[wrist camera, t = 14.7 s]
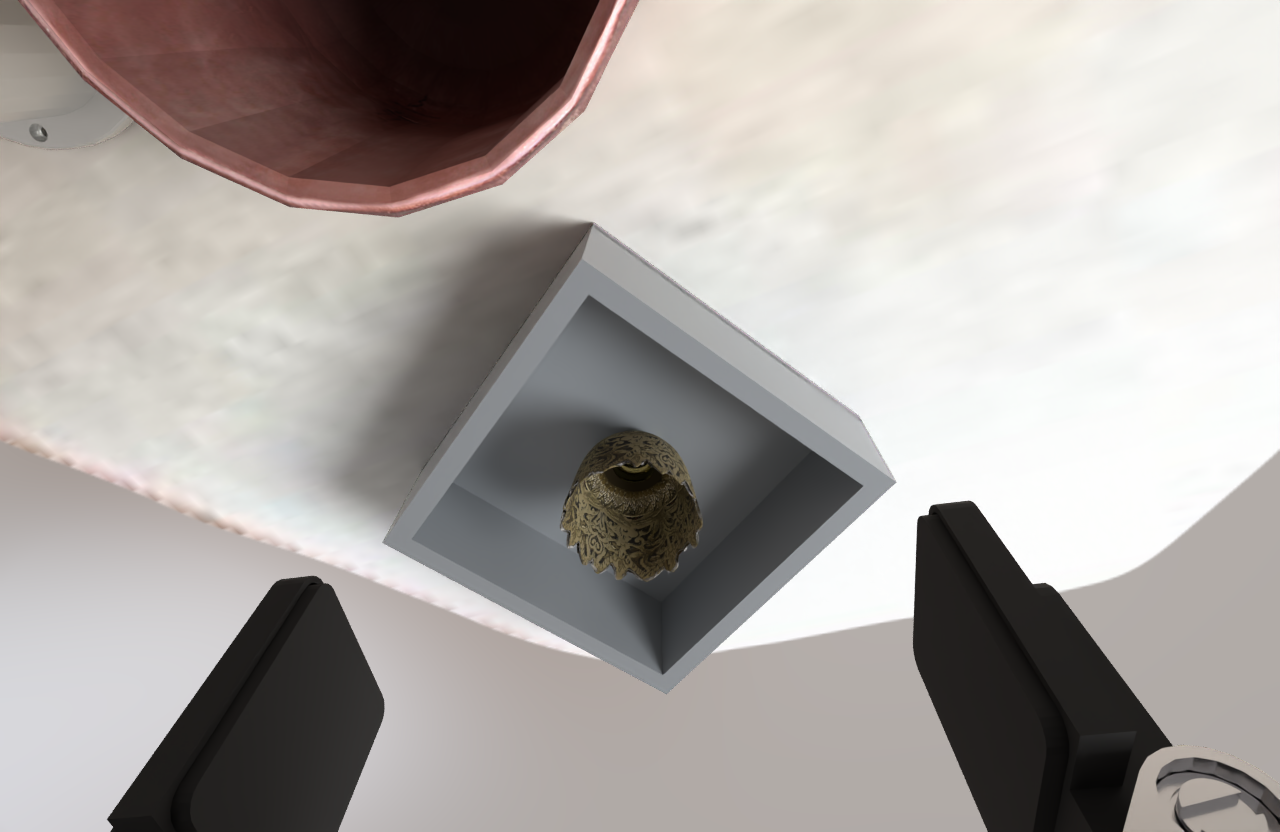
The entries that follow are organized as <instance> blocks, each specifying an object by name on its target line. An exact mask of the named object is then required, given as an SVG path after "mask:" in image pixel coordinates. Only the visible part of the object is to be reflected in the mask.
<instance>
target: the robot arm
mask: <svg viewBox="0 0 1280 832" xmlns="http://www.w3.org/2000/svg"><path fill="white" fill-rule="evenodd" d="M133 121H134V120H133V119H132V118H130V117H129V116H128V115H127V114H125V113H124V112H123V111H122V110H120V109H119V108H118V107H117V106H115V105H114V104H113V103H112V102H110V101H109V100H108V99H107V98H105V97H104V96H103V95H102V94H100V93H99V92H98V91H97V90H95V89H94V88H93V87H92V86H90V85H89V84H88V83H87V82H85V81H84V80H83V79H82V78H81V77H80V75H79V74H78V73H77V72H76V70H75V69H74V68H73V67H72V66H71V64H70V63H69V62H68V61H67V60H66V58H65V57H64V56H63V55H62V54H61V52H60V51H59V50H58V49H57V47H56V46H55V45H54V44H53V43H52V41H51V40H50V39H49V38H48V37H47V35H46V34H45V33H44V32H43V30H42V29H41V28H40V27H39V26H38V24H37V23H36V22H35V21H34V20H33V18H32V17H31V16H30V15H29V14H28V12H27V11H26V10H25V9H24V7H23V6H22V5H21V4H20V3H19V1H18V0H0V137H1V138H4V139H7V140H10V141H13V142H16V143H19V144H22V145H25V146H29V147H36V148H42V149H48V150H62V149H76V148H82V147H87V146H92V145H96V144H99V143H101V142H104V141H106V140H109V139H111V138H114V137H115V136H116V135H118V134H119V133H120V132H122V131H123V130H124V129H126V128H127V127H128V126H130V125H131V123H132V122H133ZM913 649H914V656H915V661H916V664H917V667H918V670H919V672H920V675H921V677H922V679H923V682H924V683H925V686H926V689H927V691H928V693H929V696H930V698H931V700H932V703H933V705H934V707H935V709H936V712H937V714H938V716H939V719H940V721H941V724H942V726H943V728H944V731H945V733H946V735H947V738H948V740H949V742H950V745H951V747H952V749H953V751H954V754H955V756H956V758H957V761H958V763H959V766H960V768H961V770H962V772H963V775H964V777H965V779H966V782H967V784H968V786H969V789H970V791H971V793H972V796H973V798H974V800H975V803H976V805H977V807H978V810H979V812H980V814H981V817H982V819H983V821H984V824H985V826H986V828H987V831H988V832H1280V783H1278V782H1277V781H1275V780H1274V779H1273V778H1271V777H1270V776H1268V775H1267V774H1266V773H1264V772H1263V771H1261V770H1260V769H1259V768H1257V767H1255V766H1253V765H1251V764H1248V763H1247V762H1245V761H1243V760H1241V759H1239V758H1236V757H1235V756H1233V755H1230V754H1226V753H1223V752H1220V751H1216V750H1213V749H1210V748H1207V747H1197V746H1188V745H1178V746H1172V744H1171V743H1170V742H1169V740H1168V739H1167V738H1166V736H1165V735H1164V734H1163V732H1162V731H1161V730H1160V728H1159V727H1158V726H1157V724H1156V723H1155V721H1154V720H1153V719H1152V717H1151V716H1150V715H1149V713H1148V712H1147V711H1146V709H1145V708H1144V707H1143V705H1142V704H1141V703H1140V701H1139V700H1138V699H1137V698H1136V696H1135V695H1134V693H1133V692H1132V691H1131V689H1130V688H1129V687H1128V685H1127V684H1126V683H1125V681H1124V680H1123V679H1122V677H1121V676H1120V675H1119V673H1118V672H1117V671H1116V669H1115V668H1114V667H1113V665H1112V664H1111V663H1110V661H1109V660H1108V659H1107V657H1106V656H1105V655H1104V653H1103V652H1102V651H1101V649H1100V648H1099V647H1098V645H1097V644H1096V643H1095V641H1094V640H1093V639H1092V637H1091V636H1090V634H1089V633H1088V632H1087V631H1086V629H1085V628H1084V626H1083V625H1082V624H1081V623H1080V621H1079V620H1078V619H1077V617H1076V616H1075V614H1074V613H1073V612H1072V610H1071V609H1070V608H1069V606H1068V605H1067V604H1066V602H1065V601H1064V600H1063V598H1062V597H1061V596H1060V594H1059V593H1058V592H1057V591H1056V590H1055V589H1054V588H1053V587H1052V586H1050V585H1048V584H1046V583H1040V584H1032V583H1031V582H1030V580H1029V579H1028V577H1027V576H1026V575H1025V573H1024V572H1023V570H1022V569H1021V568H1020V566H1019V565H1018V563H1017V562H1016V561H1015V559H1014V558H1013V556H1012V555H1011V554H1010V552H1009V551H1008V549H1007V548H1006V547H1005V545H1004V544H1003V542H1002V541H1001V539H1000V538H999V537H998V535H997V534H996V532H995V531H994V530H993V528H992V527H991V525H990V524H989V523H988V521H987V520H986V518H985V517H984V516H983V514H982V513H981V511H980V510H979V509H978V507H977V506H976V505H975V504H974V503H973V502H972V501H962V502H953V503H945V504H936V505H932V506H931V507H930V509H929V515H925V516H920V517H919V518H918V522H917V544H916V572H915V601H914V631H913ZM383 716H384V699H383V696H382V693H381V691H380V689H379V687H378V685H377V682H376V680H375V678H374V676H373V674H372V672H371V669H370V667H369V665H368V663H367V661H366V659H365V656H364V655H363V652H362V650H361V648H360V646H359V643H358V642H357V639H356V637H355V635H354V633H353V630H352V629H351V626H350V624H349V622H348V620H347V617H346V615H345V613H344V611H343V609H342V607H341V605H340V602H339V600H338V598H337V596H336V594H335V591H334V589H333V588H332V586H331V585H329V584H324V583H323V582H322V580H321V579H319V578H318V577H317V576H307V577H298V578H289V579H281V580H279V581H277V582H276V583H275V584H274V585H273V586H272V587H271V589H270V590H269V591H268V593H267V594H266V596H265V597H264V598H263V600H262V601H261V603H260V604H259V606H258V607H257V608H256V610H255V611H254V613H253V614H252V615H251V617H250V618H249V620H248V621H247V623H246V624H245V625H244V627H243V628H242V629H241V631H240V632H239V634H238V635H237V637H236V638H235V640H234V641H233V642H232V644H231V645H230V646H229V648H228V649H227V651H226V652H225V653H224V655H223V656H222V658H221V659H220V660H219V662H218V663H217V665H216V666H215V668H214V669H213V671H212V672H211V673H210V675H209V676H208V677H207V679H206V680H205V682H204V683H203V685H202V686H201V687H200V689H199V690H198V692H197V693H196V694H195V696H194V698H193V699H192V700H191V702H190V703H189V704H188V706H187V707H186V708H185V710H184V711H183V713H182V714H181V716H180V717H179V718H178V720H177V721H176V723H175V724H174V725H173V727H172V728H171V730H170V731H169V733H168V734H167V735H166V737H165V738H164V740H163V741H162V742H161V744H160V745H159V747H158V748H157V749H156V751H155V752H154V754H153V755H152V757H151V758H150V759H149V761H148V762H147V764H146V765H145V766H144V768H143V769H142V771H141V772H140V774H139V775H138V776H137V778H136V779H135V781H134V782H133V783H132V785H131V786H130V788H129V789H128V790H127V792H126V793H125V795H124V796H123V797H122V799H121V800H120V802H119V803H118V805H117V806H116V807H115V809H114V810H113V812H112V813H111V814H110V816H109V817H108V819H107V820H108V821H109V822H110V824H111V825H112V826H113V829H112V830H111V832H338V830H339V827H340V825H341V822H342V819H343V817H344V815H345V812H346V810H347V807H348V805H349V802H350V800H351V797H352V795H353V792H354V790H355V787H356V785H357V782H358V780H359V777H360V775H361V772H362V769H363V767H364V765H365V762H366V760H367V757H368V755H369V752H370V750H371V747H372V745H373V742H374V740H375V737H376V735H377V732H378V730H379V728H380V725H381V722H382V719H383Z"/></svg>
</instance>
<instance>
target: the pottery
mask: <svg viewBox="0 0 1280 832" xmlns="http://www.w3.org/2000/svg"><path fill="white" fill-rule="evenodd" d="M18 1H19V3H20V4H21V5H22V6H23V7H24V9H25V10H26V11H27V12H28V14H29V15H30V16H31V17H32V18H33V20H34V21H35V22H36V23H37V24H38V26H39V27H40V28H41V29H42V30H43V32H44V33H45V34H46V35H47V37H48V38H49V39H50V40H51V41H52V43H53V44H54V45H55V46H56V47H57V49H58V50H59V51H60V52H61V54H62V55H63V56H64V57H65V58H66V60H67V61H68V62H69V63H70V64H71V66H72V67H73V68H74V69H75V70H76V72H77V73H78V74H79V75H80V77H81V78H82V79H83V80H84V81H85V82H87V83H88V84H89V85H90V86H92V87H93V88H94V89H95V90H97V91H98V92H99V93H100V94H102V95H103V96H104V97H105V98H107V99H108V100H109V101H110V102H112V103H113V104H114V105H115V106H117V107H118V108H119V109H120V110H122V111H123V112H124V113H125V114H127V115H128V116H129V117H130V118H132V119H133V120H134V121H135V122H137V123H138V124H139V125H140V126H142V127H143V128H144V129H145V130H147V131H148V132H149V133H150V134H152V135H153V136H154V137H155V138H157V139H158V140H159V141H160V142H162V143H163V144H164V145H165V146H166V147H168V148H169V149H170V150H171V151H173V152H174V153H175V154H176V155H178V156H179V157H180V158H182V159H184V160H186V161H189V162H191V163H193V164H195V165H197V166H200V167H202V168H204V169H206V170H209V171H211V172H213V173H215V174H217V175H220V176H222V177H224V178H226V179H229V180H231V181H233V182H235V183H237V184H240V185H242V186H244V187H246V188H249V189H251V190H253V191H255V192H257V193H260V194H262V195H264V196H266V197H269V198H271V199H273V200H275V201H278V202H280V203H282V204H284V205H286V206H289V207H295V208H306V209H316V210H327V211H337V212H348V213H358V214H369V215H379V216H390V217H401V216H404V215H408V214H411V213H414V212H417V211H420V210H423V209H426V208H430V207H433V206H436V205H439V204H442V203H445V202H448V201H451V200H455V199H458V198H461V197H464V196H467V195H470V194H473V193H477V192H480V191H483V190H486V189H489V188H492V187H495V186H498V185H502V184H503V183H504V182H506V181H507V180H508V179H509V178H510V177H511V176H512V175H513V174H514V173H516V172H517V171H518V170H519V169H520V168H521V167H522V166H523V165H525V164H526V163H527V162H528V161H529V160H530V159H531V158H532V157H534V156H535V155H536V154H537V153H538V152H539V151H540V150H541V149H542V148H544V147H545V146H546V145H547V144H548V143H549V142H550V141H551V140H553V139H554V138H555V137H556V136H557V135H558V134H559V133H560V132H561V131H563V130H564V129H565V128H566V127H567V126H568V125H569V124H570V123H572V122H573V121H574V120H575V119H576V118H577V117H578V116H579V115H581V114H582V113H583V112H584V111H585V109H586V107H587V105H588V103H589V101H590V99H591V97H592V95H593V93H594V91H595V88H596V86H597V84H598V82H599V80H600V78H601V76H602V74H603V72H604V70H605V68H606V66H607V64H608V62H609V60H610V58H611V55H612V54H613V52H614V50H615V48H616V46H617V44H618V42H619V40H620V38H621V36H622V34H623V32H624V30H625V28H626V26H627V24H628V22H629V20H630V18H631V16H632V14H633V12H634V10H635V8H636V6H637V4H638V2H639V0H18Z"/></svg>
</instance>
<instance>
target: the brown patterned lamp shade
mask: <svg viewBox="0 0 1280 832" xmlns="http://www.w3.org/2000/svg"><path fill="white" fill-rule="evenodd" d="M702 525H703V520H702V515H701V511H700V507H699V505H698V502H697V498H696V495H695V491H694V488H693V485H692V482H691V479H690V476H689V473H688V470H687V468H686V466H685V464H684V462H683V460H682V458H681V457H680V455H679V454H678V452H677V451H676V450H675V449H674V448H673V447H672V446H671V445H670V444H669V443H667V442H666V441H665V440H663V439H662V438H660V437H658V436H656V435H654V434H651V433H647V432H645V431H642V430H634V429H633V430H626V431H623V432H619V433H615V434H613V435H610V436H608V437H606V438H604V439H603V440H601V441H600V442H598V443H597V444H596V445H595V446H594V447H593V448H592V449H591V450H590V451H589V452H588V454H587V455H586V456H585V458H584V460H583V461H582V463H581V465H580V467H579V469H578V471H577V473H576V476H575V478H574V481H573V483H572V486H571V488H570V491H569V494H568V496H567V497H566V499H565V502H564V505H563V512H562V516H561V520H560V530H561V531H563V532H566V533H567V539H566V542H567V543H566V545H567V548H568V549H570V548H573V547H574V546H575V545H576V544H577V553H578V554H579V557H580V560H581V563H582V564H583V565H587V564H588V563H589V564H591V567H592V568H593V570H594V572H595V573H597V574H601V573H603V572H604V571H606V570H607V569H608V568H609V566H612V569H613V571H614V575H615V579H616V580H621V579H623V578H624V577H625V576H626V575H627V572H628V573H631V574H634V575H635V577H636V578H638V579H640V580H642V581H645V582H648V581H650V580H652V579H654V578H655V577H656V576H657V575H659V574H660V573H661V572H662V571H663V570H664V569H665V570H666V571H667V572H669V573H671V572H674V571H675V570H676V569H677V568H678V566H679V563H678V561H679V555H680V554H681V553H682V552H683V551H686V550H687V548H688V546H689V545H690V544H691V546H692V548H695V547H696V546H697V545H698V542H699V531H701V529H702Z"/></svg>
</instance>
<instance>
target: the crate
mask: <svg viewBox="0 0 1280 832" xmlns="http://www.w3.org/2000/svg"><path fill="white" fill-rule="evenodd" d="M633 429H634V430H642V431H645V432H647V433H651V434H654V435H656V436H658V437H660V438H662V439H663V440H665V441H666V442H667V443H669V444H670V445H671V446H672V447H673V448H674V449H675V450H676V451H677V452H678V454H679V455H680V457H681V458H682V460H683V462H684V464H685V466H686V468H687V470H688V473H689V476H690V479H691V482H692V485H693V488H694V491H695V495H696V498H697V502H698V505H699V507H700V511H701V515H702V520H703V525H702V529H701V531H699V542H698V545H697V546H696V547H695V548H692V546H691V544H690V545H689V546H688V548H687V550H686V551H683V552H682V553H681V554H680V555H679V561H678V563H679V566H678V568H677V569H676V570H675V571H674V572H671V573H669V572H667V571H666V570H665V569H664V570H663V571H662V572H661V573H660V574H659V575H657V576H656V577H655V578H654V579H652V580H650V581H648V582H645V581H642V580H640V579H638V578H636V577H635V575H634V574H631V573H628V572H627V575H626V576H625V577H624V578H623V579H621V580H616V579H615V575H614V571H613V569H612V566H609V568H608V569H607V570H606V571H604V572H603V573H601V574H597V573H595V572H594V570H593V568H592V567H591V564H589V563H588V564H587V565H583V564H582V563H581V560H580V557H579V554H578V553H577V544H576V545H575V546H574V547H573V548H570V549H568V548H567V545H566V543H567V542H566V539H567V533H566V532H563V531H561V530H560V520H561V516H562V512H563V505H564V502H565V499H566V497H567V496H568V494H569V491H570V488H571V486H572V483H573V481H574V478H575V476H576V473H577V471H578V469H579V467H580V465H581V463H582V461H583V460H584V458H585V456H586V455H587V454H588V452H589V451H590V450H591V449H592V448H593V447H594V446H595V445H596V444H597V443H598V442H600V441H601V440H603V439H604V438H606V437H608V436H610V435H613V434H615V433H619V432H623V431H626V430H633ZM895 483H896V481H895V479H894V477H893V475H892V473H891V472H890V470H889V468H888V466H887V465H886V463H885V461H884V459H883V458H882V456H881V454H880V452H879V450H878V449H877V447H876V445H875V443H874V442H873V440H872V438H871V436H870V434H869V433H868V431H867V429H866V427H865V426H864V424H863V422H862V420H861V419H860V417H859V416H858V415H857V414H856V413H854V412H853V411H852V410H850V409H849V408H847V407H846V406H845V405H843V404H842V403H841V402H839V401H838V400H836V399H835V398H834V397H832V396H831V395H830V394H828V393H827V392H826V391H824V390H823V389H821V388H820V387H819V386H817V385H816V384H815V383H813V382H812V381H810V380H809V379H808V378H806V377H805V376H804V375H802V374H801V373H800V372H798V371H797V370H795V369H794V368H793V367H791V366H790V365H789V364H787V363H786V362H784V361H783V360H782V359H780V358H779V357H778V356H776V355H775V354H774V353H772V352H771V351H769V350H768V349H767V348H765V347H764V346H763V345H761V344H760V343H758V342H757V341H756V340H754V339H753V338H752V337H750V336H749V335H748V334H746V333H745V332H743V331H742V330H741V329H739V328H738V327H737V326H735V325H734V324H732V323H731V322H730V321H728V320H727V319H726V318H724V317H723V316H722V315H720V314H719V313H717V312H716V311H715V310H713V309H712V308H711V307H709V306H708V305H706V304H705V303H704V302H702V301H701V300H700V299H698V298H697V297H696V296H694V295H693V294H691V293H690V292H689V291H687V290H686V289H685V288H683V287H682V286H680V285H679V284H678V283H676V282H675V281H674V280H672V279H671V278H670V277H668V276H667V275H665V274H664V273H663V272H661V271H660V270H659V269H657V268H656V267H654V266H653V265H652V264H650V263H649V262H648V261H646V260H645V259H644V258H642V257H641V256H639V255H638V254H637V253H635V252H634V251H633V250H631V249H630V248H628V247H627V246H626V245H624V244H623V243H622V242H620V241H619V240H618V239H616V238H615V237H613V236H612V235H611V234H609V233H608V232H607V231H605V230H604V229H602V228H601V227H600V226H598V225H597V224H596V223H593V224H592V226H591V227H590V229H589V230H588V232H587V233H586V235H585V236H584V237H583V239H582V240H581V242H580V243H579V245H578V246H577V248H576V249H575V250H574V252H573V253H572V255H571V256H570V258H569V259H568V261H567V262H566V263H565V265H564V266H563V268H562V269H561V271H560V272H559V274H558V275H557V276H556V278H555V279H554V281H553V282H552V284H551V285H550V286H549V288H548V289H547V291H546V292H545V294H544V295H543V297H542V298H541V299H540V301H539V302H538V304H537V305H536V307H535V308H534V310H533V311H532V312H531V314H530V315H529V317H528V318H527V320H526V321H525V323H524V324H523V325H522V327H521V328H520V330H519V331H518V333H517V334H516V336H515V337H514V338H513V340H512V341H511V343H510V344H509V346H508V347H507V349H506V350H505V351H504V353H503V354H502V356H501V357H500V359H499V360H498V362H497V363H496V364H495V366H494V367H493V369H492V370H491V372H490V373H489V375H488V376H487V377H486V379H485V380H484V382H483V383H482V385H481V386H480V387H479V389H478V390H477V392H476V393H475V395H474V396H473V398H472V399H471V400H470V402H469V403H468V405H467V406H466V408H465V409H464V411H463V412H462V413H461V415H460V416H459V418H458V419H457V421H456V422H455V424H454V425H453V426H452V428H451V429H450V431H449V432H448V434H447V435H446V437H445V438H444V439H443V441H442V442H441V444H440V445H439V447H438V448H437V450H436V451H435V452H434V454H433V455H432V457H431V458H430V460H429V461H428V463H427V464H426V465H425V467H424V468H423V470H422V471H421V473H420V475H419V477H418V478H417V480H416V482H415V484H414V486H413V488H412V489H411V491H410V493H409V495H408V497H407V499H406V500H405V502H404V504H403V506H402V508H401V510H400V511H399V513H398V515H397V517H396V519H395V520H394V522H393V524H392V526H391V528H390V530H389V531H388V533H387V535H386V537H385V539H384V541H383V542H382V543H384V544H386V545H388V546H390V547H391V548H393V549H395V550H397V551H399V552H401V553H403V554H405V555H406V556H408V557H410V558H412V559H414V560H416V561H418V562H420V563H421V564H423V565H425V566H427V567H429V568H431V569H433V570H435V571H436V572H438V573H440V574H442V575H444V576H446V577H448V578H450V579H451V580H453V581H455V582H457V583H459V584H461V585H463V586H465V587H466V588H468V589H470V590H472V591H474V592H476V593H478V594H480V595H481V596H483V597H485V598H487V599H489V600H491V601H493V602H495V603H496V604H498V605H500V606H502V607H504V608H506V609H508V610H510V611H511V612H513V613H515V614H517V615H519V616H521V617H523V618H525V619H526V620H528V621H530V622H532V623H534V624H536V625H538V626H540V627H541V628H543V629H545V630H547V631H549V632H551V633H553V634H555V635H556V636H558V637H560V638H562V639H564V640H566V641H568V642H570V643H571V644H573V645H575V646H577V647H579V648H581V649H583V650H585V651H586V652H588V653H590V654H592V655H594V656H596V657H598V658H600V659H601V660H603V661H605V662H607V663H609V664H611V665H613V666H615V667H617V668H618V669H620V670H622V671H624V672H626V673H628V674H630V675H632V676H633V677H635V678H637V679H639V680H641V681H643V682H645V683H647V684H649V685H650V686H652V687H654V688H656V689H658V690H660V691H662V692H663V693H665V694H667V693H668V692H669V691H670V690H671V689H673V688H674V687H675V686H676V685H677V684H678V683H679V682H680V681H681V680H682V679H683V678H685V677H686V676H687V675H688V674H689V673H690V672H691V671H692V670H693V669H694V668H695V667H696V666H697V665H699V664H700V663H701V662H702V661H703V660H704V659H705V658H706V657H707V656H708V655H709V654H711V653H712V652H713V651H714V650H715V649H716V648H717V647H718V646H719V645H720V644H721V643H723V642H724V641H725V640H726V639H727V638H728V637H729V636H730V635H731V634H732V633H733V632H734V631H736V630H737V629H738V628H739V627H740V626H741V625H742V624H743V623H744V622H745V621H746V620H747V619H749V618H750V617H751V616H752V615H753V614H754V613H755V612H756V611H757V610H758V609H759V608H760V607H762V606H763V605H764V604H765V603H766V602H767V601H768V600H769V599H770V598H771V597H772V596H773V595H775V594H776V593H777V592H778V591H779V590H780V589H781V588H782V587H783V586H784V585H785V584H786V583H788V582H789V581H790V580H791V579H792V578H793V577H794V576H795V575H796V574H797V573H798V572H799V571H801V570H802V569H803V568H804V567H805V566H806V565H807V564H808V563H809V562H810V561H811V560H813V559H814V558H815V557H816V556H817V555H818V554H819V553H820V552H821V551H822V550H823V549H824V548H826V547H827V546H828V545H829V544H830V543H831V542H832V541H833V540H834V539H835V538H836V537H837V536H839V535H840V534H841V533H842V532H843V531H844V530H845V529H846V528H847V527H848V526H849V525H850V524H852V523H853V522H854V521H855V520H856V519H857V518H858V517H859V516H860V515H861V514H862V513H863V512H865V511H866V510H867V509H868V508H869V507H870V506H871V505H872V504H873V503H874V502H875V501H876V500H878V499H879V498H880V497H881V496H882V495H883V494H884V493H885V492H886V491H887V490H888V489H889V488H891V487H892V486H893V485H894V484H895Z"/></svg>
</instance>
